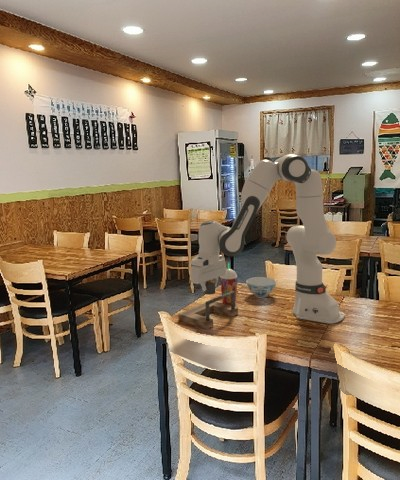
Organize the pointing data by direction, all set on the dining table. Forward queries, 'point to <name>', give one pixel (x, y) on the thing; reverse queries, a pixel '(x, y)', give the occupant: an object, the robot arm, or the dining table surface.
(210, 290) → the dark grey block
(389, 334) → the dining table surface
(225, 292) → the smoothie
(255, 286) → the chinaware
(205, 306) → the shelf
